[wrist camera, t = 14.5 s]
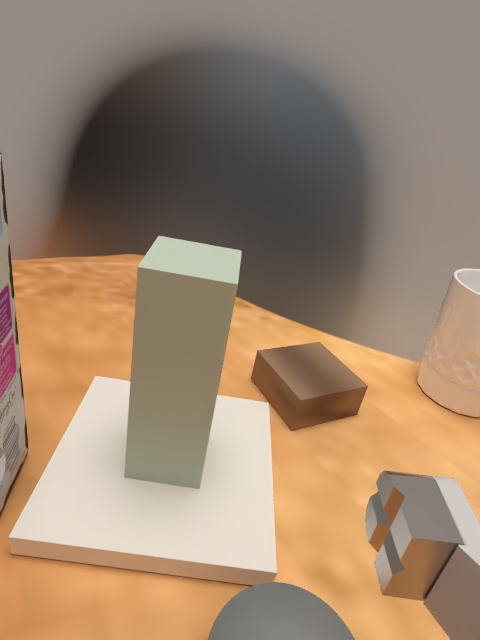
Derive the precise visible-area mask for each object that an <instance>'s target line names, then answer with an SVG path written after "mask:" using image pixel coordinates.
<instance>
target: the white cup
mask: <svg viewBox="0 0 480 640" xmlns="http://www.w3.org/2000/svg"><path fill="white" fill-rule="evenodd" d="M417 383H418V384H419V386H420V387H421V389H422V390H423V392H424V393H425V394H426V395H428V396H429V397H430V398H431V399H433V400H434V401H435V402H437V403H438V404H439V405H441V406H443V407H446V408H448V409H449V410H452V411H454V412H456V413H459V414H463V415H467V416H472V417H480V270H479V269H460V270H457V271H455V273H454V275H453V277H452V280H451V283H450V285H449V288H448V291H447V293H446V296H445V298H444V301H443V303H442V306H441V309H440V311H439V314H438V316H437V319H436V321H435V324H434V327H433V330H432V333H431V336H430V339H429V341H428V344H427V347H426V350H425V355H424V358H423V360H422V363H421V365H420V368H419V370H418V374H417Z"/></svg>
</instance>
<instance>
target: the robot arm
mask: <svg viewBox="0 0 480 640" xmlns="http://www.w3.org/2000/svg"><path fill="white" fill-rule="evenodd" d="M1 437H2V435H1V430H0V439H1ZM5 463H6V459H5V452H4V451H3V450H2V449H1V448H0V484H1V481H2V478H3V475H4V472H5ZM376 483H377V487H378V490H379V492H377V493H376V494H374V495H373V496H371V497H370V499H369V502H368V505H367V508H366V518H365V522H366V532H367V536H368V540H369V543H370V544H371V545H372V546H373V547H374V549H375V550H376V551H377V552H378V555H377V557H376V560H375V562H374V564H375V568H376V572H377V576H378V580H379V584H380V588H381V592H382V595H385V596H392V597H399V598H406V599H413V600H420V601H424V605H425V606H426V607H427V609H428V610H429V611H430V613H431V614H432V615H433V617H434V618H435V619H436V621H437V622H438V623H439V625H440V626H441V627H442V629H443V630H444V631H445V633H446V634H447V635H448V637H449V638H450V639H451V640H480V523H479V521H478V519H477V518H476V516H475V514H474V512H473V510H472V508H471V506H470V504H469V502H468V500H467V498H466V496H465V494H464V493H463V491H462V489H461V487H460V485H459V483H458V482H457V481H456V480H455V479H454V478H445V477H436V476H427V475H419V474H410V473H401V472H393V471H383V472H382V473H381V474H380V475H379V478H378V480H377V482H376Z"/></svg>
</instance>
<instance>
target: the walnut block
mask: <svg viewBox="0 0 480 640" xmlns="http://www.w3.org/2000/svg"><path fill="white" fill-rule="evenodd" d="M251 380H252V381H253V382H254V384H255V385H256V386H257V387H258V389H259V390H260V391H261V393H262V394H263V395H264V396H265V398H266V399H267V400H268V401H269V403H270V404H271V405H272V407H273V408H274V409H275V410H276V412H277V413H278V414H279V416H280V417H281V418H282V419H283V421H284V422H285V423H286V424H287V426H288V427H289V428H290V430H291V431H293V430H297V429H301V428H305V427H309V426H313V425H317V424H321V423H325V422H329V421H333V420H337V419H341V418H345V417H349V416H353V415H357V413H358V410H359V408H360V405H361V403H362V400H363V397H364V395H365V392H366V390H367V387H368V386H367V385H366V384H365V383H364V382H363V381H362V380H361V379H360V378H359V377H357V376H356V375H355V374H354V373H353V372H352V371H351V370H350V369H349V368H348V367H346V366H345V365H344V364H343V363H342V362H341V361H340V360H339V359H338V358H337V357H336V356H334V355H333V354H332V353H331V352H330V351H329V350H328V349H327V348H326V347H325V346H323V345H322V344H321V343H320V342H316V343H309V344H302V345H294V346H287V347H280V348H272V349H265V350H258V351H257V355H256V359H255V363H254V368H253V372H252V376H251Z"/></svg>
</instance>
